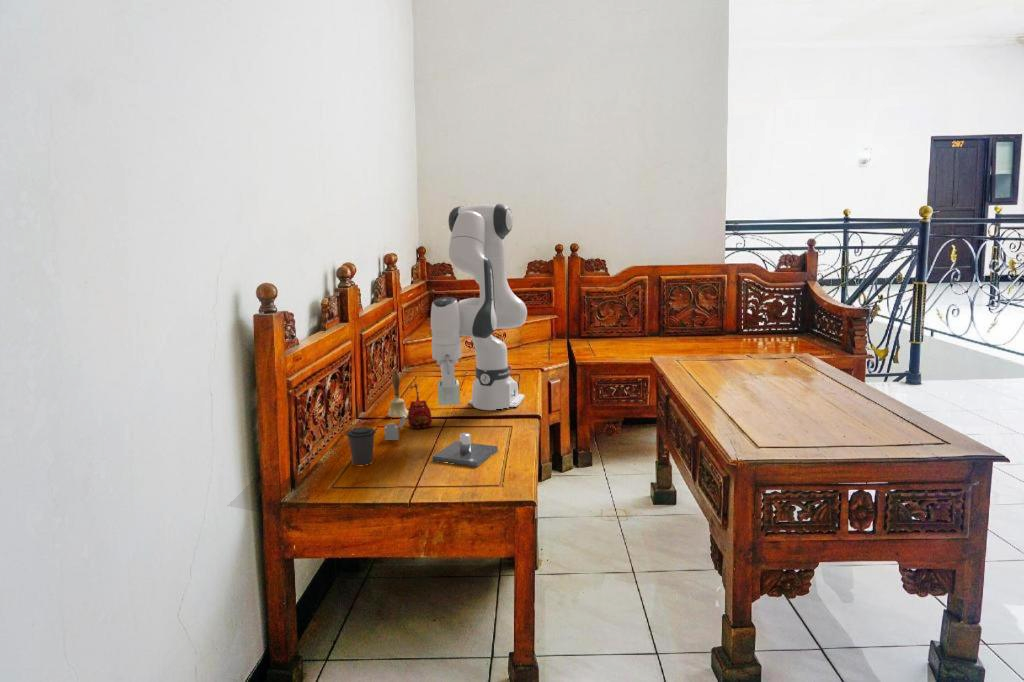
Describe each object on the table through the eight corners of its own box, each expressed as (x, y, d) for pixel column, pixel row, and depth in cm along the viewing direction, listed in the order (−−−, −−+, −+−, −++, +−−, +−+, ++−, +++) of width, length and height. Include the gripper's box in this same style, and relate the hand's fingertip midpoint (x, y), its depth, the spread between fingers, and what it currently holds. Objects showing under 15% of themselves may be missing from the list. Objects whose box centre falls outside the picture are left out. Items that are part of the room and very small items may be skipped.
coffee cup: (352, 458, 209) (350, 424, 207) (380, 457, 208) (378, 424, 207) (345, 468, 201) (342, 433, 199) (374, 467, 200) (371, 433, 199)
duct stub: (455, 445, 217) (454, 425, 216) (497, 451, 212) (497, 429, 211) (432, 461, 205) (431, 439, 203) (476, 467, 199) (476, 444, 198)
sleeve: (438, 399, 223) (437, 380, 222) (459, 398, 224) (458, 379, 223) (438, 405, 217) (437, 386, 216) (459, 404, 218) (459, 385, 217)
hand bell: (383, 418, 247) (380, 373, 244) (390, 411, 255) (387, 367, 252) (406, 419, 246) (404, 373, 243) (413, 412, 254) (410, 367, 251)
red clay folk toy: (410, 431, 232) (408, 386, 230) (406, 425, 239) (404, 381, 236) (433, 428, 235) (431, 383, 232) (429, 422, 241) (427, 378, 239)
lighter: (385, 441, 223) (383, 416, 222) (385, 439, 225) (384, 414, 224) (408, 440, 224) (406, 415, 222) (408, 438, 225) (407, 413, 224)
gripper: (458, 359, 208) (460, 405, 210) (456, 344, 227) (457, 386, 230) (436, 360, 207) (438, 406, 210) (435, 345, 227) (437, 387, 230)
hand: (448, 396), depth 220 cm, fingers closed on sleeve, 6 cm apart
